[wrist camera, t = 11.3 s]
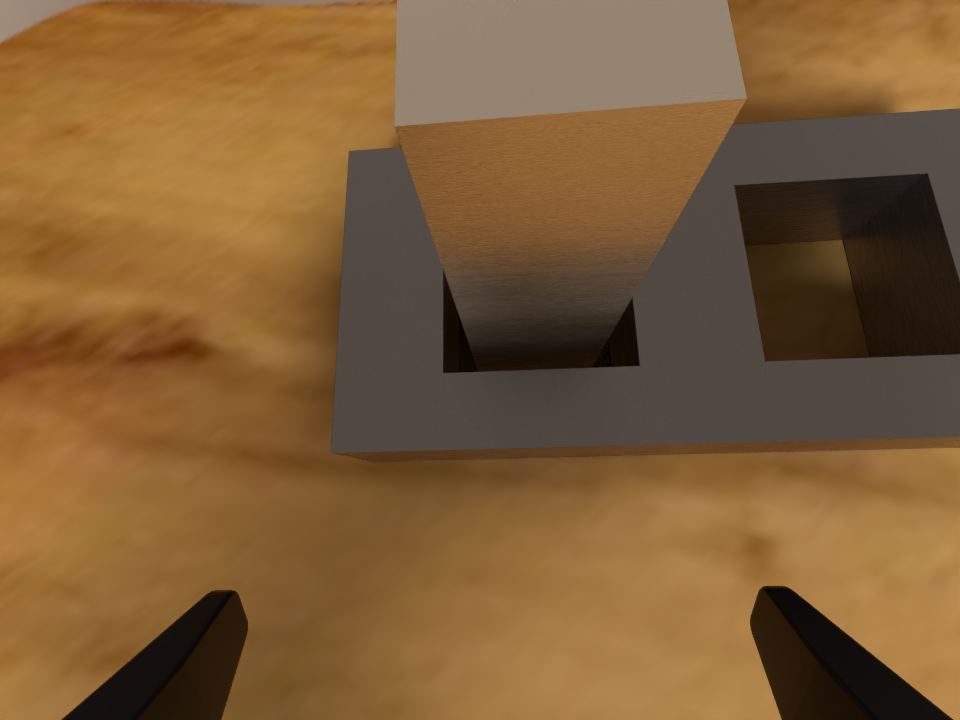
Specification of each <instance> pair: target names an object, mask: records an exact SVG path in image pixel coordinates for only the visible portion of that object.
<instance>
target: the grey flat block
mask: <svg viewBox="0 0 960 720" xmlns="http://www.w3.org/2000/svg"><path fill="white" fill-rule="evenodd" d="M827 240H843V242H844V246H845V250H846V254H847V259H848V263H849V267H850V271H851V276H852V280H853V284H854V288H855V293H856V297H857V301H858V305H859V310H860V314H861V318H862V322H863V327H864V331H865V335H866V339H867V344H868V348H869V352H870V357H871V358H846V359H818V360H791V361H765V358H764V352H763V346H762V341H761V335H760V329H759V324H758V318H757V312H756V307H755V301H754V295H753V290H752V284H751V278H750V273H749V267H748V261H747V256H746V250H745V245H751V244H770V243H789V242H808V241H827ZM609 345H610V356H611V367H599V368H571V369H544V370H516V371H489V372H462V373H459V313H458V311H457V308H456V305H455V302H454V299H453V296H452V293H451V290H450V287H449V284H448V281H447V278H446V275H445V273H444V270H443V267H442V264H441V261H440V258H439V255H438V252H437V249H436V246H435V243H434V240H433V237H432V235H431V232H430V229H429V226H428V223H427V220H426V217H425V214H424V211H423V208H422V205H421V202H420V199H419V197H418V194H417V191H416V188H415V185H414V182H413V179H412V176H411V173H410V170H409V167H408V164H407V161H406V159H405V156H404V153H403V150H402V147H400V148H386V149H371V150H357V151H349V159H348V175H347V192H346V209H345V225H344V242H343V258H342V275H341V291H340V308H339V325H338V341H337V358H336V374H335V391H334V407H333V424H332V440H331V453H334V454H338V455H343V456H348V457H353V458H358V459H362V460H367V461H414V460H455V459H497V458H539V457H581V456H623V455H664V454H706V453H748V452H790V451H832V450H874V449H915V448H957V447H960V109H946V110H932V111H917V112H903V113H889V114H874V115H860V116H846V117H831V118H817V119H802V120H788V121H774V122H759V123H745V124H732V125H731V127H730V129H729V131H728V132H727V134H726V136H725V138H724V139H723V141H722V143H721V144H720V146H719V148H718V150H717V151H716V153H715V155H714V157H713V158H712V160H711V162H710V164H709V165H708V167H707V169H706V170H705V172H704V174H703V176H702V177H701V179H700V181H699V183H698V184H697V186H696V188H695V190H694V191H693V193H692V195H691V196H690V198H689V200H688V202H687V203H686V205H685V207H684V209H683V210H682V212H681V214H680V216H679V217H678V219H677V221H676V222H675V224H674V226H673V228H672V229H671V231H670V233H669V235H668V236H667V238H666V240H665V242H664V243H663V245H662V247H661V248H660V250H659V252H658V254H657V255H656V257H655V259H654V261H653V262H652V264H651V266H650V268H649V269H648V271H647V273H646V274H645V276H644V278H643V280H642V281H641V283H640V285H639V287H638V288H637V290H636V292H635V294H634V295H633V297H632V299H631V300H630V302H629V304H628V306H627V307H626V309H625V311H624V313H623V314H622V316H621V318H620V320H619V321H618V323H617V325H616V326H615V328H614V330H613V332H612V333H611V335H610V337H609Z"/></svg>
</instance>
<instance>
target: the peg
mask: <svg viewBox="0 0 960 720" xmlns="http://www.w3.org/2000/svg"><path fill="white" fill-rule="evenodd" d="M746 99H747V96H746V91H745V86H744V81H743V76H742V71H741V66H740V61H739V56H738V52H737V47H736V42H735V37H734V32H733V27H732V22H731V17H730V13H729V8H728V3H727V0H397V39H396V84H395V129H396V132H397V135H398V138H399V141H400V144H401V147H402V150H403V153H404V156H405V159H406V161H407V164H408V167H409V170H410V173H411V176H412V179H413V182H414V185H415V188H416V191H417V194H418V197H419V199H420V202H421V205H422V208H423V211H424V214H425V217H426V220H427V223H428V226H429V229H430V232H431V235H432V237H433V240H434V243H435V246H436V249H437V252H438V255H439V258H440V261H441V264H442V267H443V270H444V273H445V275H446V278H447V281H448V284H449V287H450V290H451V293H452V296H453V299H454V302H455V305H456V308H457V311H458V313H459V316H460V319H461V322H462V325H463V328H464V331H465V334H466V337H467V340H468V343H469V346H470V349H471V351H472V354H473V357H474V360H475V363H476V366H477V369H478V372H489V371H516V370H544V369H571V368H592V366H593V365H594V363H595V361H596V359H597V358H598V356H599V354H600V352H601V351H602V349H603V347H604V346H605V344H606V342H607V340H608V339H609V337H610V335H611V333H612V332H613V330H614V328H615V326H616V325H617V323H618V321H619V320H620V318H621V316H622V314H623V313H624V311H625V309H626V307H627V306H628V304H629V302H630V300H631V299H632V297H633V295H634V294H635V292H636V290H637V288H638V287H639V285H640V283H641V281H642V280H643V278H644V276H645V274H646V273H647V271H648V269H649V268H650V266H651V264H652V262H653V261H654V259H655V257H656V255H657V254H658V252H659V250H660V248H661V247H662V245H663V243H664V242H665V240H666V238H667V236H668V235H669V233H670V231H671V229H672V228H673V226H674V224H675V222H676V221H677V219H678V217H679V216H680V214H681V212H682V210H683V209H684V207H685V205H686V203H687V202H688V200H689V198H690V196H691V195H692V193H693V191H694V190H695V188H696V186H697V184H698V183H699V181H700V179H701V177H702V176H703V174H704V172H705V170H706V169H707V167H708V165H709V164H710V162H711V160H712V158H713V157H714V155H715V153H716V151H717V150H718V148H719V146H720V144H721V143H722V141H723V139H724V138H725V136H726V134H727V132H728V131H729V129H730V127H731V125H732V124H733V122H734V120H735V118H736V117H737V115H738V113H739V112H740V110H741V108H742V106H743V105H744V103H745V101H746Z"/></svg>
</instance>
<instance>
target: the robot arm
mask: <svg viewBox="0 0 960 720" xmlns="http://www.w3.org/2000/svg"><path fill="white" fill-rule="evenodd" d="M750 626H751V631H752V635H753V638H754V640H755V643H756V646H757V649H758V652H759V655H760V658H761V661H762V664H763V667H764V669H765V672H766V675H767V678H768V681H769V684H770V687H771V690H772V693H773V696H774V699H775V701H776V704H777V707H778V710H779V713H780V716H781V719H782V720H953V719H952V718H950V717H949V716H948V715H947V714H946V713H944V712H943V711H942V710H941V709H939V708H938V707H937V706H936V705H934V704H933V703H932V702H931V701H929V700H928V699H927V698H926V697H924V696H923V695H922V694H921V693H919V692H918V691H917V690H916V689H915V688H913V687H912V686H911V685H910V684H908V683H907V682H906V681H905V680H903V679H902V678H901V677H900V676H898V675H897V674H896V673H895V672H893V671H892V670H891V669H890V668H888V667H887V666H886V665H885V664H884V663H882V662H881V661H880V660H879V659H877V658H876V657H875V656H874V655H872V654H871V653H870V652H869V651H867V650H866V649H865V648H864V647H862V646H861V645H860V644H859V643H857V642H856V641H855V640H854V639H853V638H851V637H850V636H849V635H848V634H846V633H845V632H844V631H843V630H841V629H840V628H839V627H838V626H836V625H835V624H834V623H833V622H831V621H830V620H829V619H828V618H826V617H825V616H824V615H823V614H821V613H820V612H819V611H818V610H817V609H815V608H814V607H813V606H812V605H810V604H809V603H808V602H807V601H805V600H804V599H803V598H802V597H800V596H799V595H798V594H797V593H795V592H794V591H793V590H791V589H790V588H788V587H785V586H764V587H762V588H761V589H760V590H759V592H758V595H757V598H756V601H755V604H754V608H753V611H752V614H751V618H750ZM247 631H248V621H247V617H246V614H245V611H244V609H243V606H242V603H241V600H240V597H239V595H238V593H237V592H236V591H234V590H215V591H211V592H210V593H208V594H207V595H205V596H204V597H203V598H202V599H201V600H199V601H198V602H197V603H196V604H195V605H194V606H192V607H191V608H190V609H189V610H188V611H187V612H186V613H184V614H183V615H182V616H181V617H180V618H179V619H177V620H176V621H175V622H174V623H173V624H172V625H171V626H169V627H168V628H167V629H166V630H165V631H164V632H162V633H161V634H160V635H159V636H158V637H157V638H155V639H154V640H153V641H152V642H151V643H150V644H149V645H147V646H146V647H145V648H144V649H143V650H142V651H140V652H139V653H138V654H137V655H136V656H135V657H134V658H132V659H131V660H130V661H129V662H128V663H127V664H125V665H124V666H123V667H122V668H121V669H120V670H118V671H117V672H116V673H115V674H114V675H113V676H112V677H110V678H109V679H108V680H107V681H106V682H105V683H103V684H102V685H101V686H100V687H99V688H98V689H97V690H95V691H94V692H93V693H92V694H91V695H90V696H88V697H87V698H86V699H85V700H84V701H83V702H81V703H80V704H79V705H78V706H77V707H76V708H75V709H73V710H72V711H71V712H70V713H69V714H68V715H66V716H65V717H64V718H63V719H62V720H221V719H222V716H223V713H224V709H225V706H226V703H227V699H228V696H229V693H230V689H231V686H232V683H233V679H234V676H235V673H236V669H237V666H238V663H239V659H240V656H241V653H242V650H243V646H244V643H245V640H246V636H247Z"/></svg>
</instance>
